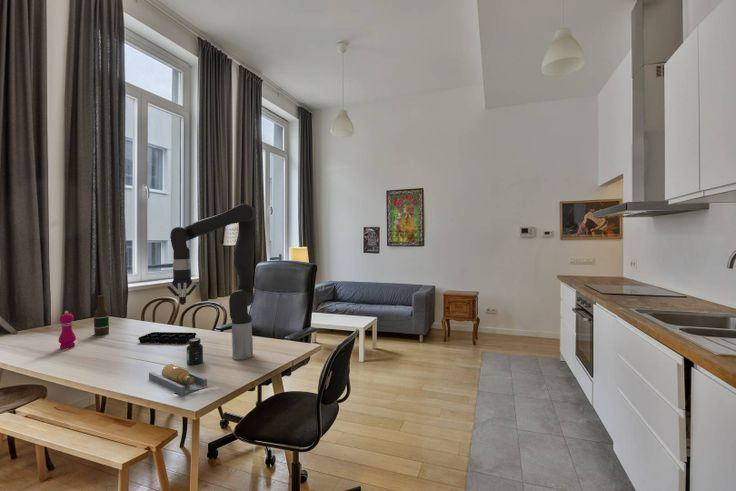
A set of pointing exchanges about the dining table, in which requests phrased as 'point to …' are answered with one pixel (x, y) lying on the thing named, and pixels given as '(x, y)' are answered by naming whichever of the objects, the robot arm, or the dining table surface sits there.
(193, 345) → the supplement bottle
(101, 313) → the beer bottle
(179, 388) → the cradle
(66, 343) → the pepper mill
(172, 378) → the bottle
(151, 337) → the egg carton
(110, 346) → the dining table surface
